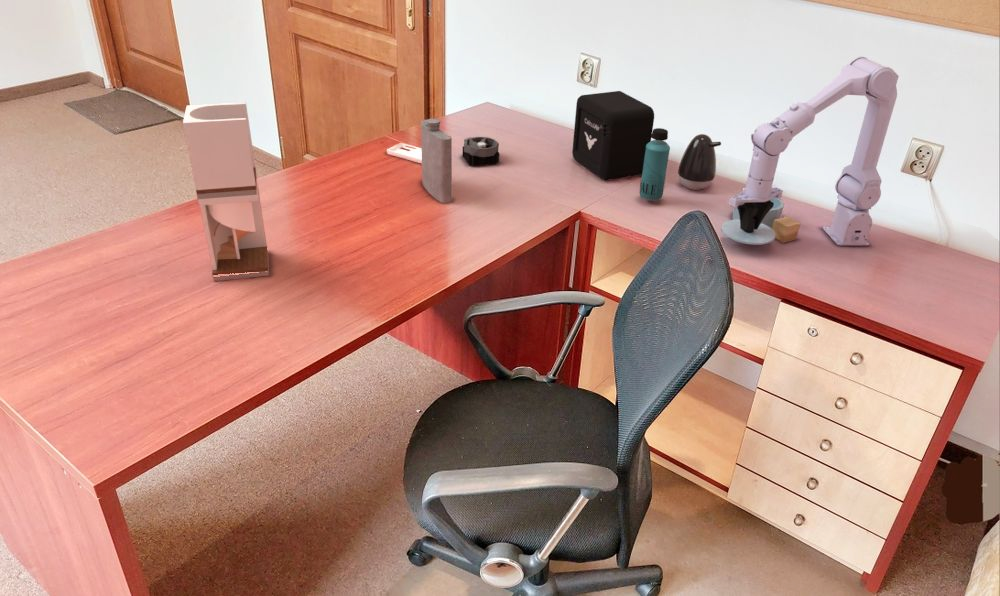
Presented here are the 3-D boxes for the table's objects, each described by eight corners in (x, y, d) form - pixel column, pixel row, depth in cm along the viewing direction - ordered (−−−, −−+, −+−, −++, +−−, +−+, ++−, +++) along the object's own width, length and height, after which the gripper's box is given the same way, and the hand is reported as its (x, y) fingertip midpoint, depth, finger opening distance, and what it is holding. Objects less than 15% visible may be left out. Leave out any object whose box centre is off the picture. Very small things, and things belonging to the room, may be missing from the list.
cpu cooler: (502, 146, 220) (469, 149, 217) (502, 165, 223) (468, 168, 220) (492, 134, 228) (459, 137, 226) (491, 152, 231) (459, 155, 229)
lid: (785, 243, 180) (789, 225, 178) (739, 249, 177) (743, 231, 174) (754, 220, 190) (758, 203, 188) (710, 226, 187) (714, 208, 184)
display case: (213, 281, 163) (182, 122, 144) (215, 257, 171) (186, 105, 153) (268, 275, 165) (245, 119, 147) (268, 252, 174) (245, 102, 155)
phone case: (386, 153, 228) (426, 165, 221) (385, 149, 227) (426, 160, 220) (401, 146, 233) (440, 157, 227) (401, 142, 232) (440, 153, 226)
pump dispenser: (703, 197, 208) (714, 144, 200) (669, 187, 213) (678, 135, 205) (719, 185, 215) (729, 134, 207) (685, 176, 220) (694, 125, 212)
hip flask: (453, 202, 200) (453, 129, 190) (439, 204, 199) (438, 131, 188) (431, 179, 212) (430, 109, 202) (417, 181, 211) (415, 111, 200)
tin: (787, 228, 193) (793, 207, 190) (748, 233, 190) (753, 212, 187) (761, 209, 203) (766, 189, 200) (723, 214, 199) (727, 193, 196)
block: (796, 239, 188) (800, 223, 186) (783, 242, 186) (787, 226, 184) (783, 232, 192) (787, 216, 189) (770, 235, 190) (774, 219, 187)
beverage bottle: (661, 196, 208) (672, 126, 197) (663, 207, 202) (674, 134, 191) (637, 195, 208) (647, 124, 197) (638, 205, 202) (648, 133, 192)
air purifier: (567, 159, 229) (573, 93, 218) (609, 152, 234) (616, 88, 224) (602, 184, 213) (610, 115, 203) (646, 177, 219) (655, 109, 208)
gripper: (772, 165, 181) (759, 216, 189) (725, 174, 175) (714, 227, 183) (794, 176, 176) (780, 228, 183) (746, 186, 170) (734, 239, 177)
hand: (748, 228), depth 183 cm, fingers closed on lid, 2 cm apart
